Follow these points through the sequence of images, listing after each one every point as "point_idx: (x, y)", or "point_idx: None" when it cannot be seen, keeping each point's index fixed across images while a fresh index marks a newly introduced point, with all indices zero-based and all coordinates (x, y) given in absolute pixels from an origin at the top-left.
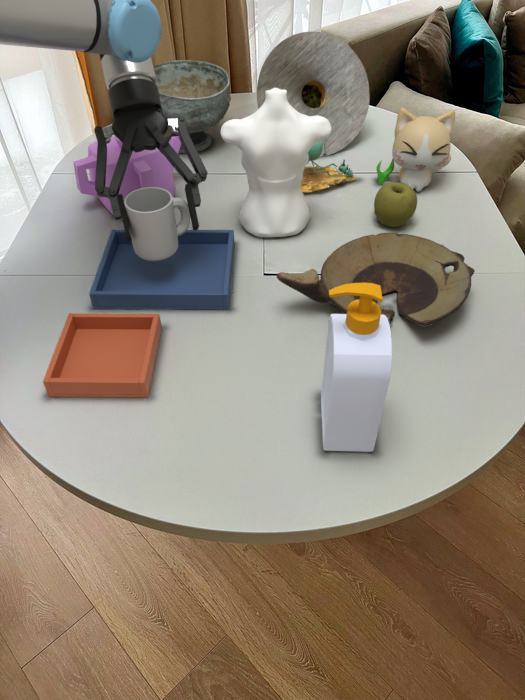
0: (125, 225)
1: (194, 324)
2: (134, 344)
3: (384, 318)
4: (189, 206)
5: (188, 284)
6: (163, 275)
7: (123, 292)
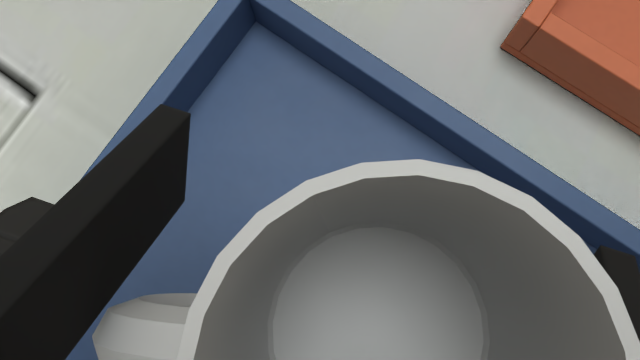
0: (638, 315)
1: (392, 6)
2: (625, 10)
3: None
4: (113, 233)
5: None
6: None
7: (598, 215)
